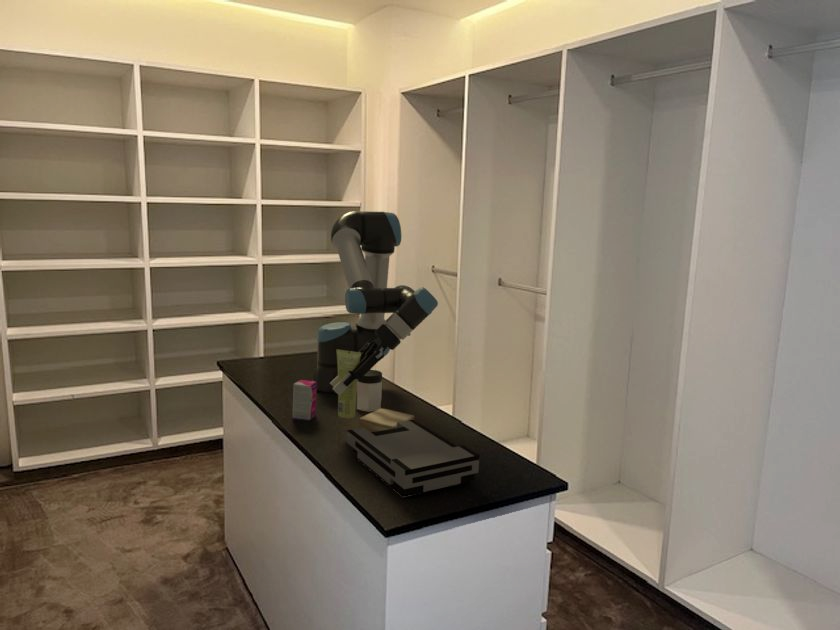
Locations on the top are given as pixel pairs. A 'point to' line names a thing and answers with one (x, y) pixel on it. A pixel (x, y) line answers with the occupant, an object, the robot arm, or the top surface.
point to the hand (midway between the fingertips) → (334, 389)
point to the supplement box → (304, 400)
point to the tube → (348, 397)
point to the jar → (369, 391)
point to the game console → (413, 458)
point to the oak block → (383, 420)
